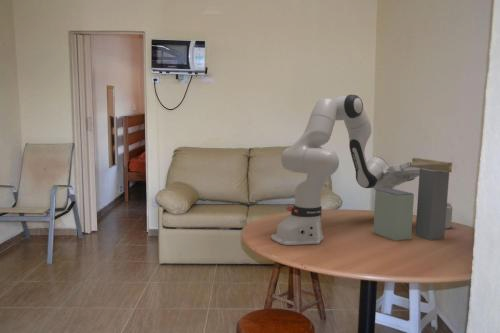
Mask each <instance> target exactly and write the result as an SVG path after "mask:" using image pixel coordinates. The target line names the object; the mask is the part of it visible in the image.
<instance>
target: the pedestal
mask: <svg viewBox="0 0 500 333" xmlns="http://www.w3.org/2000/svg"><path fill="white" fill-rule="evenodd" d="M418 177H419V178H418V188H417V189H418V190H417V202H416V203H417V204H416V220H415V236H416V237H419V238H422V239H425V240H429V241H431V240H432V241H433V240H439V239H444V238H445V235H446V234H445V232H446V229H445V222H446V209H447V203H448V193H449V180H450V172H442V171H436V170H430V169H420V173H419V176H418Z"/></svg>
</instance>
